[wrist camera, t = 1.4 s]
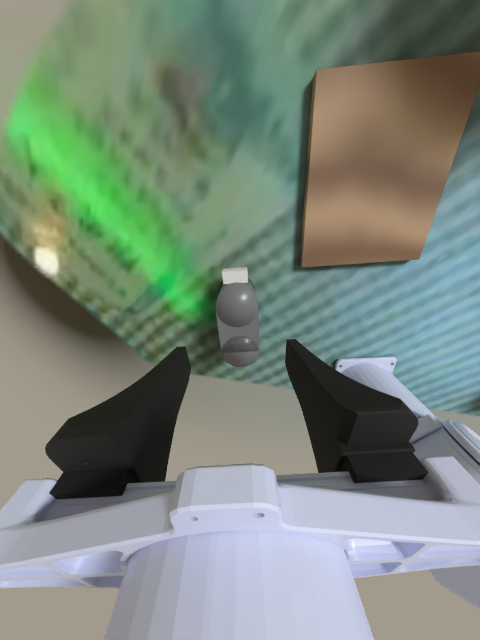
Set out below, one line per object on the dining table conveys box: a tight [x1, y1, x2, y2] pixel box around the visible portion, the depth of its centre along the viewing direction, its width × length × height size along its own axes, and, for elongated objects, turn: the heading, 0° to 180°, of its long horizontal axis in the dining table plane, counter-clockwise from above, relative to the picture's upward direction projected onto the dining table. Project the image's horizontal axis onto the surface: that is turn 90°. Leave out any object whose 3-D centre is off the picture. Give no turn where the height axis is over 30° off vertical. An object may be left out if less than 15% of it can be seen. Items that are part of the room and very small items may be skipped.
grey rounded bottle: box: [215, 267, 259, 367], centre depth 20 cm, size 10×4×5 cm, turn 4°
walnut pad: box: [300, 51, 480, 267], centre depth 16 cm, size 14×12×1 cm
